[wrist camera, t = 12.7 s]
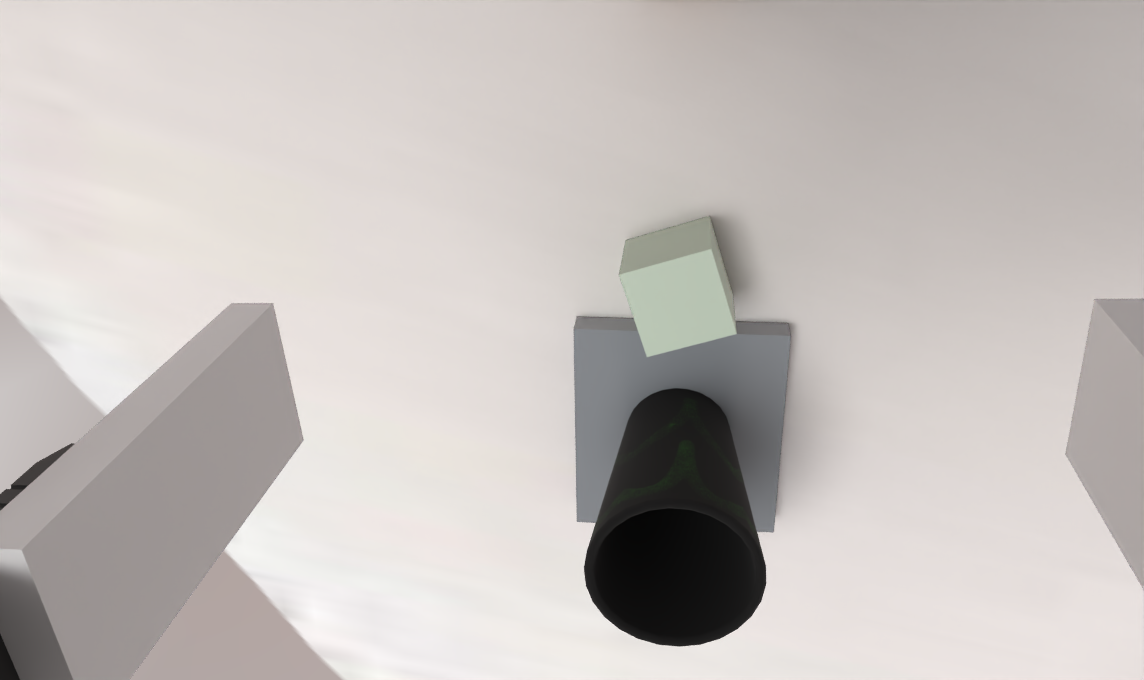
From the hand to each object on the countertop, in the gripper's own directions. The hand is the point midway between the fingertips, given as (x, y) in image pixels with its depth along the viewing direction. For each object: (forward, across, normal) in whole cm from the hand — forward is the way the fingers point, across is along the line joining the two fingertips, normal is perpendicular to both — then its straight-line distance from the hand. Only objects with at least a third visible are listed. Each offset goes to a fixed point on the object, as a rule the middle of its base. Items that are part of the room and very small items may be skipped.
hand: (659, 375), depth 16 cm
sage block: (+32, -1, -11) cm, 34 cm away
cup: (+30, -1, -20) cm, 36 cm away
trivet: (+32, -1, -20) cm, 37 cm away
